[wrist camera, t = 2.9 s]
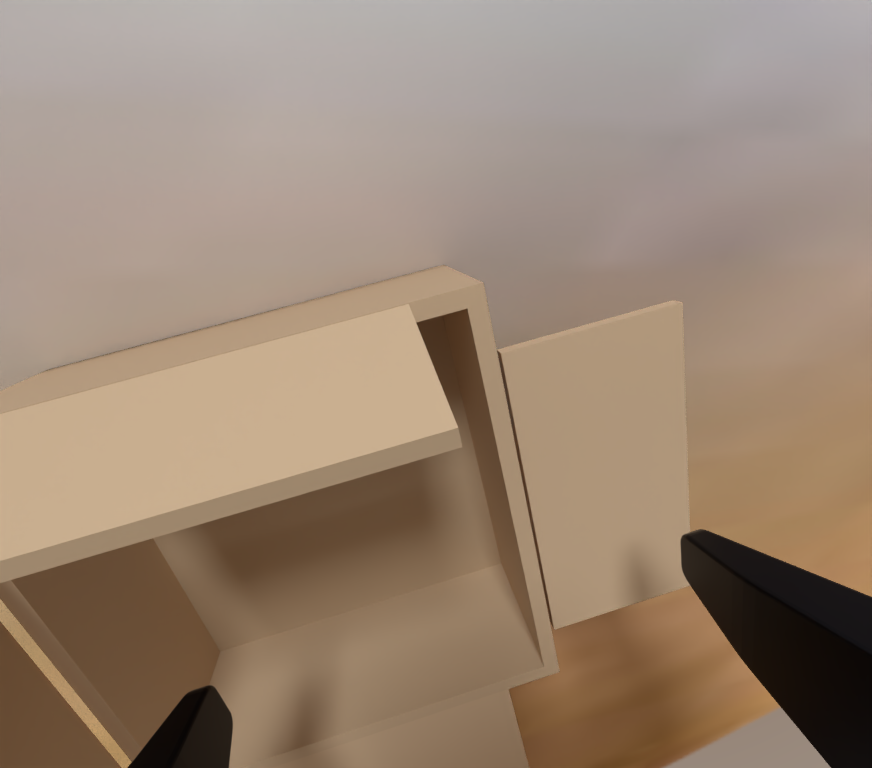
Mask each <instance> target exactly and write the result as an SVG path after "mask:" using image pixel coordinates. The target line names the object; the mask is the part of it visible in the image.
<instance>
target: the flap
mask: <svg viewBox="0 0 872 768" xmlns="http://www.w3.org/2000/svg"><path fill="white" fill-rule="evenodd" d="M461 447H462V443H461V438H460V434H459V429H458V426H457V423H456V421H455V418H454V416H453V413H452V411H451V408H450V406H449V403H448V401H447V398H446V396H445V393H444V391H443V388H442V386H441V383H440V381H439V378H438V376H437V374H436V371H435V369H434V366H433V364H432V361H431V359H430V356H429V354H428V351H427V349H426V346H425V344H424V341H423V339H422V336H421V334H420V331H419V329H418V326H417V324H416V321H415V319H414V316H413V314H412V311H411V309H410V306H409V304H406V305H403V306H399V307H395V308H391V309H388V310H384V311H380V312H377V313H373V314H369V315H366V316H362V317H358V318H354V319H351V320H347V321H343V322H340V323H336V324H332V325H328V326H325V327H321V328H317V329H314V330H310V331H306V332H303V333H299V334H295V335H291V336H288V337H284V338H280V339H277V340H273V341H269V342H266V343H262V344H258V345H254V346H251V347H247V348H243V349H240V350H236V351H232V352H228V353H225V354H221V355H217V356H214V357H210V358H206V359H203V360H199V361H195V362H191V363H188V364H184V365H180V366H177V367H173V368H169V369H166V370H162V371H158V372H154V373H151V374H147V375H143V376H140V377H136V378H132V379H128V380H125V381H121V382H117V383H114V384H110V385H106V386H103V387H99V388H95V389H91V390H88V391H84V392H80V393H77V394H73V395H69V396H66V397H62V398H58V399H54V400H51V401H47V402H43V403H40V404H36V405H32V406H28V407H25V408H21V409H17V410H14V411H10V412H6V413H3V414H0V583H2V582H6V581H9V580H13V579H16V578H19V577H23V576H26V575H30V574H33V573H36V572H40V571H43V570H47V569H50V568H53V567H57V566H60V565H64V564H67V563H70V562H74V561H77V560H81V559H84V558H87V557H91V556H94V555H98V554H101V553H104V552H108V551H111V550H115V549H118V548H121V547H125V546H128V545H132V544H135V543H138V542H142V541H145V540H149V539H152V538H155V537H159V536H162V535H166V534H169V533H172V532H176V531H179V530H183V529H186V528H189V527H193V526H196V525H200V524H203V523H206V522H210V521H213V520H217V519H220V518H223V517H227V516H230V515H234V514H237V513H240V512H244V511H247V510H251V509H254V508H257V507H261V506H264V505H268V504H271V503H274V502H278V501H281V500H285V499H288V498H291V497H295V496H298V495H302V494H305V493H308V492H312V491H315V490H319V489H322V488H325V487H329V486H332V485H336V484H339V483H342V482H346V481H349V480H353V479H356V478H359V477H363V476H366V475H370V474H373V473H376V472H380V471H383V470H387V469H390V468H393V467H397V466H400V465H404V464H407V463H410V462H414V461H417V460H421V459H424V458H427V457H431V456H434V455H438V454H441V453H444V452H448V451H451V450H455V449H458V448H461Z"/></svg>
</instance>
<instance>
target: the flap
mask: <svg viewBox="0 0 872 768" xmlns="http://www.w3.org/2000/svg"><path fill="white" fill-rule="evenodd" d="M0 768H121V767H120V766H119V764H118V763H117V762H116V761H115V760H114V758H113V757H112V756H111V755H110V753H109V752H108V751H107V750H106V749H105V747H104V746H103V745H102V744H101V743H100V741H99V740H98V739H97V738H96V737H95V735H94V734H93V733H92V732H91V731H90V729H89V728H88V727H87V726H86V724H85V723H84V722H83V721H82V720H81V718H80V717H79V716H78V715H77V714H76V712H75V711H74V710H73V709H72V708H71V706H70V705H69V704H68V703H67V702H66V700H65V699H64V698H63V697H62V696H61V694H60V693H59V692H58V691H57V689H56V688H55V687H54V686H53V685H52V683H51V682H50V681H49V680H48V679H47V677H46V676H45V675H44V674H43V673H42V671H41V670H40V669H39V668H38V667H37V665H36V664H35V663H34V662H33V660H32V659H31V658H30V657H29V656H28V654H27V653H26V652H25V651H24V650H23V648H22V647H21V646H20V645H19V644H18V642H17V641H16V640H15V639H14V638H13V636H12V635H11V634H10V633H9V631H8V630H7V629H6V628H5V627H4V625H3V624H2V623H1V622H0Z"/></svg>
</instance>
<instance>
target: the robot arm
mask: <svg viewBox="0 0 872 768" xmlns="http://www.w3.org/2000/svg"><path fill="white" fill-rule="evenodd" d="M680 545H681V567H682V571H683V574H684V576H685V578H686V580H687V581H688V583H689V584H690V586H691V587H692V589H693V590H694V591H695V593H696V594H697V596H698V597H699V599H700V600H701V602H702V603H703V604H704V606H705V607H706V609H707V610H708V612H709V613H710V615H711V616H712V618H713V619H714V620H715V622H716V623H717V625H718V626H719V628H720V629H721V631H722V632H723V633H724V635H725V636H726V638H727V639H728V641H729V642H730V644H731V645H732V646H733V648H734V649H735V651H736V652H737V653H738V655H739V656H740V658H741V659H742V660H743V661H744V663H745V664H746V665H747V666H748V668H749V669H750V670H751V671H752V673H753V674H754V675H755V676H756V677H757V679H758V680H759V681H760V682H761V684H762V685H763V686H764V687H765V688H766V690H767V691H768V692H769V693H770V694H771V696H772V697H773V698H774V699H775V700H776V702H777V703H778V704H779V705H780V706H781V708H782V709H783V710H784V711H785V712H786V714H787V715H788V716H789V717H790V719H791V720H792V721H793V722H794V723H795V724H796V726H797V727H798V728H799V729H800V730H801V732H802V733H803V734H804V735H805V737H806V738H807V739H808V740H809V741H810V743H811V744H812V745H813V746H814V747H815V749H816V750H817V751H818V752H819V753H820V755H821V756H822V757H823V758H824V760H825V761H826V762H827V763H828V764H829V766H830V767H831V768H872V597H870V596H868V595H865V594H863V593H860V592H858V591H856V590H853V589H851V588H848V587H846V586H843V585H841V584H838V583H836V582H833V581H831V580H828V579H826V578H823V577H821V576H818V575H816V574H813V573H811V572H809V571H806V570H804V569H801V568H799V567H796V566H794V565H791V564H789V563H786V562H784V561H781V560H779V559H776V558H774V557H771V556H769V555H766V554H764V553H761V552H759V551H757V550H754V549H752V548H749V547H747V546H744V545H742V544H739V543H737V542H734V541H732V540H729V539H727V538H724V537H722V536H719V535H717V534H714V533H712V532H709V531H707V530H703V529H700V530H696V531H692V532H689V533H686V534H684V535H682V537H681V540H680ZM232 733H233V719H232V715H231V712H230V710H229V709H228V707H227V705H226V704H225V702H224V700H223V699H222V697H221V696H220V694H219V692H218V691H217V689H216V688H215V687H214V686H212V685H207V686H204V687H201V688H198V689H194V690H192V691H189V692H188V693H187V694H185V696H184V697H183V698H182V699H181V700H180V702H179V703H178V704H177V705H176V707H175V708H174V709H173V710H172V712H171V713H170V714H169V716H168V717H167V718H166V719H165V721H164V722H163V723H162V724H161V726H160V727H159V728H158V730H157V731H156V732H155V733H154V735H153V736H152V737H151V738H150V740H149V741H148V742H147V744H146V745H145V746H144V747H143V749H142V750H141V751H140V752H139V754H138V755H137V756H136V758H135V759H134V760H133V761H132V763H131V764H130V765H129V766H128V768H229V762H230V752H231V742H232Z"/></svg>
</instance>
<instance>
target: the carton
mask: <svg viewBox="0 0 872 768" xmlns="http://www.w3.org/2000/svg"><path fill="white" fill-rule="evenodd" d="M406 304H409V306H410V309H411V311H412V314H413V316H414V319H415V321H416V324H417V326H418V329H419V331H420V334H421V336H422V339H423V341H424V344H425V346H426V349H427V351H428V354H429V356H430V359H431V361H432V364H433V366H434V369H435V371H436V374H437V376H438V378H439V381H440V383H441V386H442V388H443V391H444V393H445V396H446V398H447V401H448V403H449V406H450V408H451V411H452V413H453V416H454V418H455V421H456V423H457V426H458V429H459V434H460V438H461V443H462V447H461V448H458V449H455V450H451V451H448V452H444V453H441V454H438V455H434V456H431V457H427V458H424V459H421V460H417V461H414V462H410V463H407V464H404V465H400V466H397V467H393V468H390V469H387V470H383V471H380V472H376V473H373V474H370V475H366V476H363V477H359V478H356V479H353V480H349V481H346V482H342V483H339V484H336V485H332V486H329V487H325V488H322V489H319V490H315V491H312V492H308V493H305V494H302V495H298V496H295V497H291V498H288V499H285V500H281V501H278V502H274V503H271V504H268V505H264V506H261V507H257V508H254V509H251V510H247V511H244V512H240V513H237V514H234V515H230V516H227V517H223V518H220V519H217V520H213V521H210V522H206V523H203V524H200V525H196V526H193V527H189V528H186V529H183V530H179V531H176V532H172V533H169V534H166V535H162V536H159V537H155V538H152V539H149V540H145V541H142V542H138V543H135V544H132V545H128V546H125V547H121V548H118V549H115V550H111V551H108V552H104V553H101V554H98V555H94V556H91V557H87V558H84V559H81V560H77V561H74V562H70V563H67V564H64V565H60V566H57V567H53V568H50V569H47V570H43V571H40V572H36V573H33V574H30V575H26V576H23V577H19V578H16V579H13V580H9V581H6V582H2V583H0V599H1V600H2V601H3V603H4V604H5V605H6V606H7V608H8V609H9V610H10V611H11V612H12V614H13V615H14V616H15V617H16V619H17V620H18V621H19V622H20V624H21V625H22V626H23V627H24V629H25V630H26V631H27V632H28V634H29V635H30V636H31V637H32V639H33V640H34V641H35V642H36V643H37V645H38V646H39V647H40V648H41V650H42V651H43V652H44V653H45V655H46V656H47V657H48V658H49V660H50V661H51V662H52V663H53V665H54V666H55V667H56V668H57V670H58V671H59V672H60V673H61V674H62V676H63V677H64V678H65V679H66V681H67V682H68V683H69V684H70V686H71V687H72V688H73V689H74V691H75V692H76V693H77V694H78V696H79V697H80V698H81V699H82V701H83V702H84V703H85V704H86V705H87V707H88V708H89V709H90V710H91V712H92V713H93V714H94V715H95V717H96V718H97V719H98V720H99V722H100V723H101V724H102V725H103V727H104V728H105V729H106V730H107V732H108V733H109V734H110V735H111V736H112V738H113V739H114V740H115V741H116V743H117V744H118V745H119V746H120V748H121V749H122V750H123V751H124V753H125V754H126V755H127V756H128V758H129V759H130V760H131V761H133V760H134V759H135V758H136V756H137V755H138V754H139V752H140V751H141V750H142V749H143V747H144V746H145V745H146V744H147V742H148V741H149V740H150V738H151V737H152V736H153V735H154V733H155V732H156V731H157V730H158V728H159V727H160V726H161V724H162V723H163V722H164V721H165V719H166V718H167V717H168V716H169V714H170V713H171V712H172V710H173V709H174V708H175V707H176V705H177V704H178V703H179V702H180V700H181V699H182V698H183V697H184V696H185V694H187V693H188V692H189V691H192V690H194V689H198V688H201V687H204V686H207V685H212V686H214V687H215V688H216V689H217V691H218V692H219V694H220V696H221V697H222V699H223V700H224V702H225V704H226V705H227V707H228V709H229V710H230V712H231V715H232V719H233V733H232V742H231V752H230V762H229V768H529V765H528V761H527V757H526V753H525V750H524V746H523V742H522V738H521V734H520V731H519V727H518V723H517V719H516V716H515V712H514V708H513V704H512V700H511V697H510V693H509V689H510V688H513V687H516V686H519V685H522V684H525V683H528V682H531V681H534V680H537V679H540V678H543V677H546V676H549V675H552V674H555V673H558V672H560V671H559V666H558V661H557V655H556V650H555V645H554V640H553V635H552V630H551V625H550V622H551V624H552V626H553V628H554V630H556V629H559V628H562V627H565V626H568V625H571V624H574V623H577V622H580V621H583V620H586V619H589V618H592V617H595V616H598V615H601V614H605V613H608V612H611V611H614V610H617V609H620V608H623V607H626V606H629V605H632V604H635V603H638V602H641V601H644V600H647V599H650V598H654V597H657V596H660V595H663V594H666V593H669V592H672V591H675V590H678V589H681V588H684V587H687V586H690V584H689V583H688V581H687V580H686V578H685V576H684V574H683V571H682V567H681V545H680V540H681V537H682V535H684V534H686V533H689V532H690V519H689V487H688V456H687V425H686V393H685V362H684V331H683V302H679V301H675V300H672V301H668V302H665V303H661V304H658V305H654V306H651V307H647V308H644V309H640V310H636V311H633V312H629V313H626V314H622V315H619V316H615V317H611V318H608V319H604V320H601V321H597V322H594V323H590V324H587V325H583V326H579V327H576V328H572V329H569V330H565V331H562V332H558V333H554V334H551V335H547V336H544V337H540V338H537V339H533V340H530V341H526V342H522V343H519V344H515V345H512V346H508V347H505V348H501V349H497V350H496V345H495V339H494V334H493V329H492V324H491V319H490V314H489V309H488V304H487V299H486V294H485V288H484V283H483V282H481V281H479V280H476V279H474V278H472V277H470V276H467V275H465V274H463V273H461V272H458V271H456V270H454V269H452V268H449V267H447V266H445V265H441V266H437V267H434V268H430V269H426V270H422V271H418V272H415V273H411V274H407V275H403V276H400V277H396V278H392V279H388V280H385V281H381V282H377V283H373V284H369V285H366V286H362V287H358V288H354V289H351V290H347V291H343V292H339V293H336V294H332V295H328V296H324V297H321V298H317V299H313V300H309V301H305V302H302V303H298V304H294V305H290V306H287V307H283V308H279V309H275V310H272V311H268V312H264V313H260V314H256V315H253V316H249V317H245V318H241V319H238V320H234V321H230V322H226V323H223V324H219V325H215V326H211V327H208V328H204V329H200V330H196V331H192V332H189V333H185V334H181V335H177V336H174V337H170V338H166V339H162V340H159V341H155V342H151V343H147V344H143V345H140V346H136V347H132V348H128V349H125V350H121V351H117V352H113V353H110V354H106V355H102V356H98V357H95V358H91V359H87V360H83V361H79V362H76V363H72V364H68V365H64V366H61V367H57V368H53V369H49V370H46V371H44V372H42V373H40V374H37V375H35V376H33V377H31V378H28V379H26V380H24V381H22V382H20V383H17V384H15V385H13V386H11V387H8V388H6V389H4V390H2V391H0V414H3V413H6V412H10V411H14V410H17V409H21V408H25V407H28V406H32V405H36V404H40V403H43V402H47V401H51V400H54V399H58V398H62V397H66V396H69V395H73V394H77V393H80V392H84V391H88V390H91V389H95V388H99V387H103V386H106V385H110V384H114V383H117V382H121V381H125V380H128V379H132V378H136V377H140V376H143V375H147V374H151V373H154V372H158V371H162V370H166V369H169V368H173V367H177V366H180V365H184V364H188V363H191V362H195V361H199V360H203V359H206V358H210V357H214V356H217V355H221V354H225V353H228V352H232V351H236V350H240V349H243V348H247V347H251V346H254V345H258V344H262V343H266V342H269V341H273V340H277V339H280V338H284V337H288V336H291V335H295V334H299V333H303V332H306V331H310V330H314V329H317V328H321V327H325V326H328V325H332V324H336V323H340V322H343V321H347V320H351V319H354V318H358V317H362V316H366V315H369V314H373V313H377V312H380V311H384V310H388V309H391V308H395V307H399V306H403V305H406ZM497 353H498V355H497ZM498 358H499V360H498ZM499 363H500V365H499ZM500 368H501V370H500ZM501 373H502V375H501ZM502 379H503V380H502ZM503 384H504V385H503ZM504 389H505V390H504ZM505 394H506V395H505ZM506 399H507V401H506ZM507 404H508V406H507ZM508 409H509V411H508ZM509 414H510V416H509ZM510 419H511V421H510ZM511 425H512V426H511ZM512 430H513V431H512ZM513 435H514V436H513ZM514 440H515V441H514ZM515 445H516V446H515ZM516 450H517V452H516ZM517 455H518V457H517ZM518 460H519V462H518ZM519 465H520V467H519ZM520 470H521V472H520ZM521 476H522V477H521ZM522 481H523V482H522ZM523 486H524V487H523ZM524 491H525V492H524ZM525 496H526V497H525ZM526 501H527V503H526ZM527 506H528V508H527ZM528 511H529V513H528ZM529 516H530V518H529ZM530 522H531V523H530ZM531 527H532V528H531ZM532 532H533V533H532ZM533 537H534V538H533ZM534 542H535V543H534ZM535 547H536V548H535ZM536 552H537V554H536ZM537 557H538V559H537ZM538 562H539V564H538ZM539 567H540V569H539ZM540 573H541V574H540ZM541 578H542V579H541ZM542 583H543V584H542ZM543 588H544V589H543ZM544 593H545V594H544ZM545 598H546V599H545ZM546 603H547V605H546ZM547 608H548V610H547ZM548 613H549V615H548ZM549 619H550V620H549Z"/></svg>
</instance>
